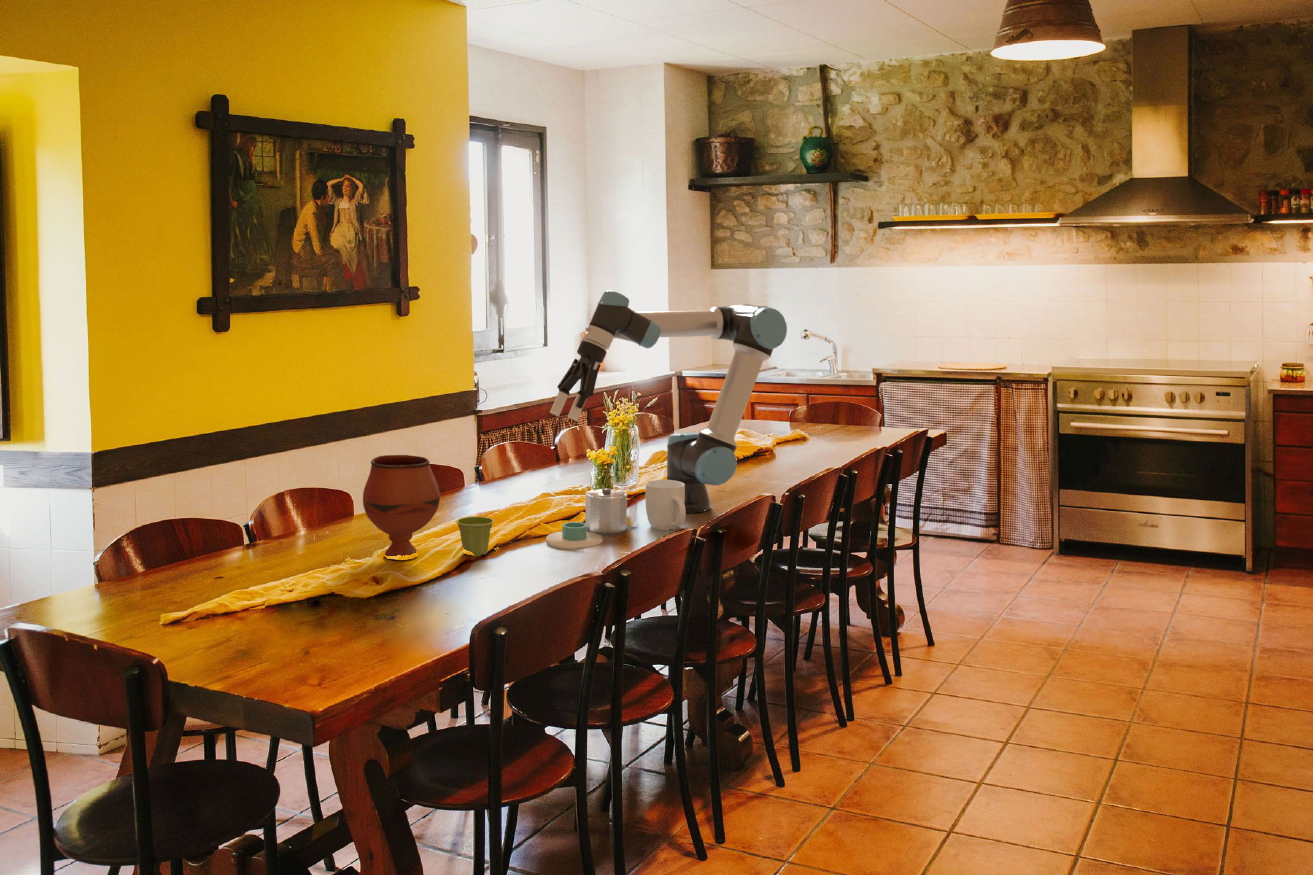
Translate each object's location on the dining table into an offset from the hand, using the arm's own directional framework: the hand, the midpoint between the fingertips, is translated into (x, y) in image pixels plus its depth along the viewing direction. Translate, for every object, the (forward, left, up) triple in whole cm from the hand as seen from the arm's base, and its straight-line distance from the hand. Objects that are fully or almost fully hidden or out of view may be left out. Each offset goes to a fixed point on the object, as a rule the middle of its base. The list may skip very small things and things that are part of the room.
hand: (562, 416), depth 312 cm
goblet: (+42, -19, -33) cm, 56 cm away
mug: (-21, +21, -33) cm, 44 cm away
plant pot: (+29, -6, -33) cm, 44 cm away
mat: (-10, +8, -33) cm, 35 cm away
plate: (+5, +8, -33) cm, 34 cm away
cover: (-10, +8, -32) cm, 34 cm away
